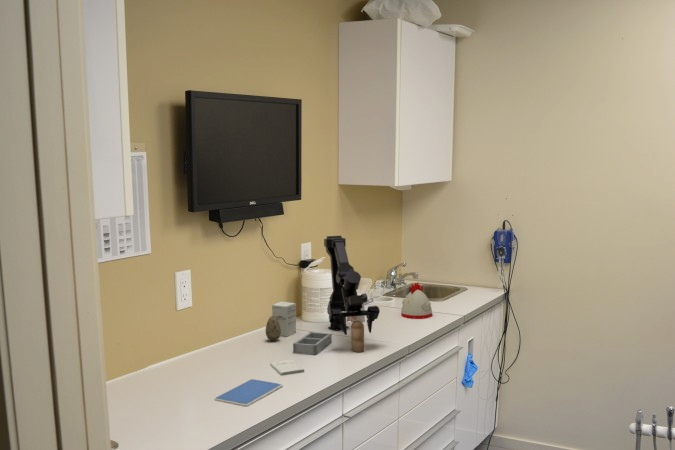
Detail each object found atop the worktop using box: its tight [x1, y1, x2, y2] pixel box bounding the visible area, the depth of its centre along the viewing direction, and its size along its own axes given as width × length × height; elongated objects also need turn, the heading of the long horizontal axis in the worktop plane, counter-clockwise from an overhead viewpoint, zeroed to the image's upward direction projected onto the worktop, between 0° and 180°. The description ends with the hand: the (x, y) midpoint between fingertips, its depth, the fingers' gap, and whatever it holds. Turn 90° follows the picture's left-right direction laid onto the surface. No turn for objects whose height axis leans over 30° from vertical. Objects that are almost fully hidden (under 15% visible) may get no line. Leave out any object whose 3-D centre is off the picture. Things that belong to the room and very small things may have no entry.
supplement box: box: [271, 301, 297, 337], centre depth 269 cm, size 7×7×13 cm
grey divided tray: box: [292, 331, 333, 356], centre depth 249 cm, size 17×9×4 cm, turn 161°
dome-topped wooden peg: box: [350, 321, 365, 354], centre depth 243 cm, size 5×5×11 cm
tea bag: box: [346, 303, 366, 323], centre depth 288 cm, size 4×7×10 cm, turn 64°
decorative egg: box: [265, 315, 281, 342], centre depth 259 cm, size 6×6×10 cm
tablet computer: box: [213, 378, 283, 408], centre depth 201 cm, size 19×13×1 cm, turn 151°
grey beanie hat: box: [400, 282, 433, 320], centre depth 296 cm, size 14×14×15 cm
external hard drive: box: [269, 359, 305, 376], centre depth 225 cm, size 2×8×12 cm
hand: (358, 333), depth 242 cm, fingers open, 9 cm apart
